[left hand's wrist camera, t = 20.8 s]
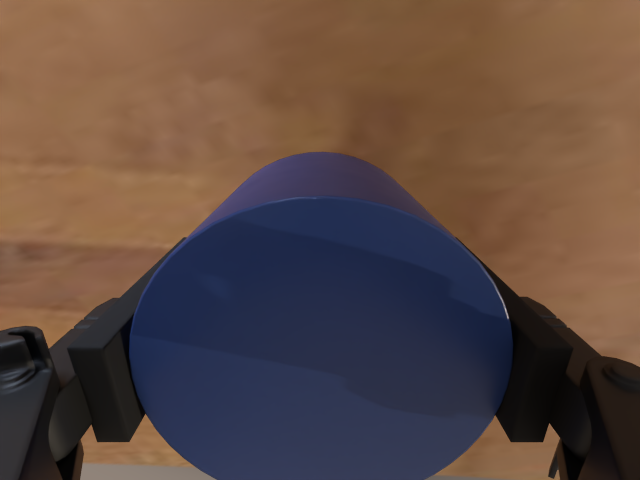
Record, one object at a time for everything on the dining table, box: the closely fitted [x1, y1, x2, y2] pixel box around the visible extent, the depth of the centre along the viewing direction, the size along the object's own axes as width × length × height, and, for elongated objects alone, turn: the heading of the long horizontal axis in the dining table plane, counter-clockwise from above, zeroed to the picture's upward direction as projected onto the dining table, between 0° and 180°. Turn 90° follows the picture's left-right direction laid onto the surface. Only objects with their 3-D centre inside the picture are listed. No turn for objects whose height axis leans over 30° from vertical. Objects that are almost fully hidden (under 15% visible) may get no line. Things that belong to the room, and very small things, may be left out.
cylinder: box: [129, 152, 513, 480], centre depth 11 cm, size 9×9×7 cm
